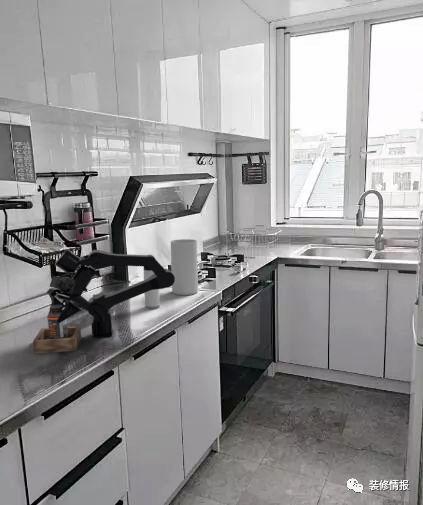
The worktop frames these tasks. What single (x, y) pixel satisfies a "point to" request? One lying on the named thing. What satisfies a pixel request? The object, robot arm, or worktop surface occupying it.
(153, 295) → the travel mug
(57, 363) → the worktop surface
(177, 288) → the cylinder vase
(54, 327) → the supplement bottle
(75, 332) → the box
